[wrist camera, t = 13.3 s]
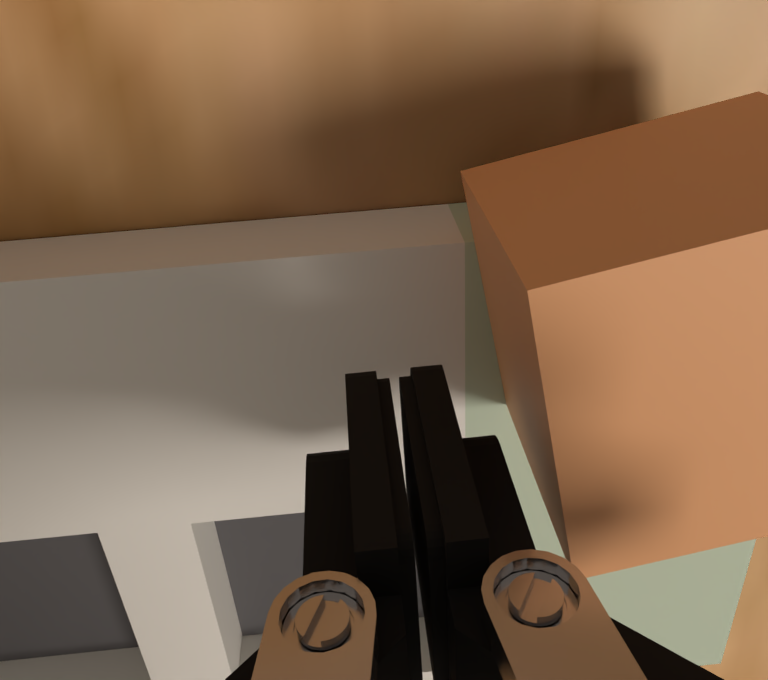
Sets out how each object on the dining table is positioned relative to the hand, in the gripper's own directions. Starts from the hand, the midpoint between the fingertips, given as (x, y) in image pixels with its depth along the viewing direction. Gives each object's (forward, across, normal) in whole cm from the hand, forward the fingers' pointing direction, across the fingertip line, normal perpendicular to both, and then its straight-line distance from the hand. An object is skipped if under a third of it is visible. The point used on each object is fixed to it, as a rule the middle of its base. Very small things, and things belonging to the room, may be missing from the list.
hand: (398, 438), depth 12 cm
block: (+2, -4, -2) cm, 5 cm away
